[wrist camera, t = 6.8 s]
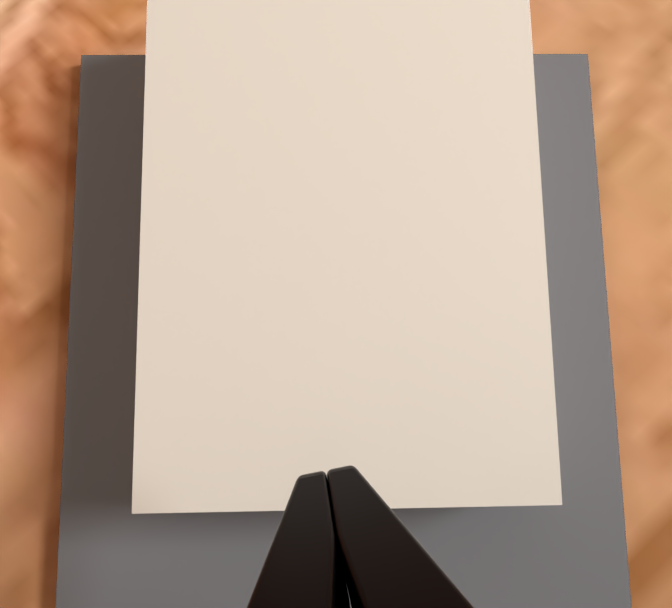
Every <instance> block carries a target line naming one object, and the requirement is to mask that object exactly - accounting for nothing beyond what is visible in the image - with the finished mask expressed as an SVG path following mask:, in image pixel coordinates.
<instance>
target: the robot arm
mask: <svg viewBox="0 0 672 608" xmlns="http://www.w3.org/2000/svg"><path fill="white" fill-rule="evenodd" d="M347 588H348V589H347ZM348 593H349V594H348ZM349 598H350V601H349ZM350 603H351V608H474V607H473V606H472V605H471V603H470V602H469V601H468V600H467V599H466V597H465V596H464V595H463V594H462V593H461V591H460V590H459V589H458V588H457V587H456V586H455V584H454V583H453V582H452V581H451V580H450V578H449V577H448V576H447V575H446V574H445V573H444V571H443V570H442V569H441V568H440V567H439V565H438V564H437V563H436V562H435V561H434V559H433V558H432V557H431V556H430V555H429V554H428V552H427V551H426V550H425V549H424V548H423V546H422V545H421V544H420V543H419V542H418V541H417V539H416V538H415V537H414V536H413V535H412V533H411V532H410V531H409V530H408V529H407V527H406V526H405V525H404V524H403V523H402V522H401V520H400V519H399V518H398V517H397V516H396V514H395V513H394V512H393V511H392V510H391V508H390V507H389V506H388V505H387V504H386V503H385V501H384V500H383V499H382V498H381V497H380V495H379V494H378V493H377V492H376V491H375V490H374V488H373V487H372V486H371V485H370V484H369V482H368V481H367V480H366V479H365V478H364V476H363V475H362V474H361V473H360V472H359V471H358V469H357V468H356V467H354V466H352V465H349V466H344V467H339V468H334V469H330V470H329V471H328V472H327V475H326V473H325V472H323V471H319V472H314V473H308V474H303V475H301V476H299V477H298V478H297V480H296V482H295V485H294V487H293V490H292V493H291V495H290V498H289V500H288V503H287V505H286V508H285V511H284V513H283V516H282V518H281V521H280V523H279V526H278V529H277V531H276V534H275V536H274V539H273V541H272V544H271V547H270V549H269V552H268V554H267V557H266V560H265V562H264V565H263V567H262V570H261V572H260V575H259V578H258V580H257V583H256V585H255V588H254V590H253V593H252V596H251V598H250V601H249V603H248V606H247V608H350Z"/></svg>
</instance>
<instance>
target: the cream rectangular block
mask: <svg viewBox="0 0 672 608" xmlns="http://www.w3.org/2000/svg"><path fill="white" fill-rule="evenodd" d="M349 465H352V466H354V467H356V468H357V469H358V471H359V472H360V473H361V474H362V475H363V476H364V478H365V479H366V480H367V481H368V482H369V484H370V485H371V486H372V487H373V488H374V490H375V491H376V492H377V493H378V494H379V495H380V497H381V498H382V499H383V500H384V501H385V503H386V504H387V505H388V506H389V507H390V508H391V509H392V508H441V507H491V506H541V505H562V491H561V476H560V461H559V445H558V430H557V415H556V399H555V384H554V369H553V353H552V338H551V323H550V308H549V292H548V277H547V262H546V246H545V231H544V216H543V201H542V185H541V170H540V155H539V139H538V124H537V109H536V94H535V78H534V63H533V48H532V32H531V17H530V2H529V0H147V28H146V60H145V93H144V126H143V158H142V191H141V223H140V256H139V289H138V321H137V354H136V387H135V419H134V452H133V484H132V514H144V513H193V512H243V511H285V508H286V505H287V503H288V500H289V498H290V495H291V493H292V490H293V487H294V485H295V482H296V480H297V478H298V477H299V476H301V475H303V474H308V473H314V472H319V471H323V472H325V473H326V475H327V472H328V471H329V470H330V469H334V468H339V467H344V466H349Z"/></svg>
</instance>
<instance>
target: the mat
mask: <svg viewBox="0 0 672 608" xmlns="http://www.w3.org/2000/svg"><path fill="white" fill-rule="evenodd" d="M145 60H146V55H81V74H80V95H79V117H78V138H77V160H76V181H75V203H74V224H73V246H72V267H71V289H70V310H69V332H68V353H67V375H66V396H65V417H64V439H63V460H62V482H61V503H60V525H59V546H58V568H57V589H56V608H247V606H248V603H249V601H250V598H251V596H252V593H253V590H254V588H255V585H256V583H257V580H258V578H259V575H260V572H261V570H262V567H263V565H264V562H265V560H266V557H267V554H268V552H269V549H270V547H271V544H272V541H273V539H274V536H275V534H276V531H277V529H278V526H279V523H280V521H281V518H282V516H283V513H284V511H243V512H193V513H144V514H132V484H133V452H134V419H135V387H136V354H137V321H138V289H139V256H140V223H141V191H142V158H143V126H144V93H145ZM533 63H534V78H535V94H536V109H537V124H538V139H539V155H540V170H541V185H542V201H543V216H544V231H545V246H546V262H547V277H548V292H549V308H550V323H551V338H552V353H553V369H554V384H555V399H556V415H557V430H558V445H559V461H560V476H561V491H562V505H541V506H491V507H441V508H392V509H391V510H392V511H393V512H394V513H395V514H396V516H397V517H398V518H399V519H400V520H401V522H402V523H403V524H404V525H405V526H406V527H407V529H408V530H409V531H410V532H411V533H412V535H413V536H414V537H415V538H416V539H417V541H418V542H419V543H420V544H421V545H422V546H423V548H424V549H425V550H426V551H427V552H428V554H429V555H430V556H431V557H432V558H433V559H434V561H435V562H436V563H437V564H438V565H439V567H440V568H441V569H442V570H443V571H444V573H445V574H446V575H447V576H448V577H449V578H450V580H451V581H452V582H453V583H454V584H455V586H456V587H457V588H458V589H459V590H460V591H461V593H462V594H463V595H464V596H465V597H466V599H467V600H468V601H469V602H470V603H471V605H472V606H473V607H474V608H632V607H631V595H630V582H629V569H628V557H627V544H626V531H625V519H624V506H623V493H622V481H621V468H620V455H619V443H618V430H617V417H616V405H615V392H614V379H613V367H612V354H611V342H610V329H609V316H608V304H607V291H606V278H605V266H604V253H603V240H602V228H601V215H600V202H599V190H598V177H597V164H596V152H595V139H594V126H593V114H592V101H591V88H590V76H589V63H588V54H533ZM347 589H348V588H347ZM348 594H349V593H348ZM349 601H350V598H349ZM350 608H351V603H350Z"/></svg>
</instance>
